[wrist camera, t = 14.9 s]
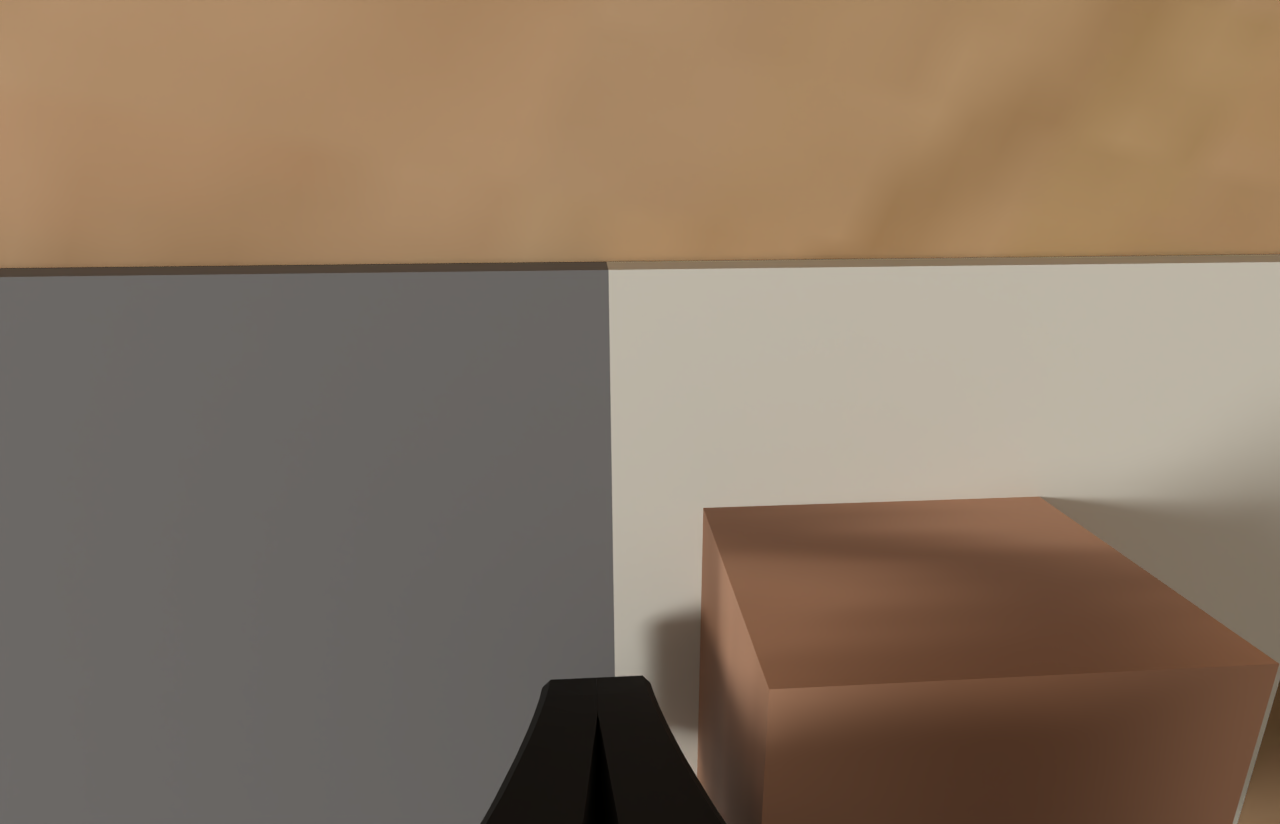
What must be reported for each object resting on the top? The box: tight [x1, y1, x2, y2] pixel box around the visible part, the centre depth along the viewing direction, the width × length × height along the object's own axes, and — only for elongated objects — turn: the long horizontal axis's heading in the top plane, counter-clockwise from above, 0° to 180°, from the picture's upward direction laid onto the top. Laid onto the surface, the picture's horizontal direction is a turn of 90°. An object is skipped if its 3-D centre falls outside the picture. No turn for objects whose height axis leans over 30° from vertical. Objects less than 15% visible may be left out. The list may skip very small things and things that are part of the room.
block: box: [697, 497, 1279, 824], centre depth 10 cm, size 5×5×4 cm
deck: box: [0, 254, 1280, 824], centre depth 12 cm, size 22×11×1 cm, turn 90°
